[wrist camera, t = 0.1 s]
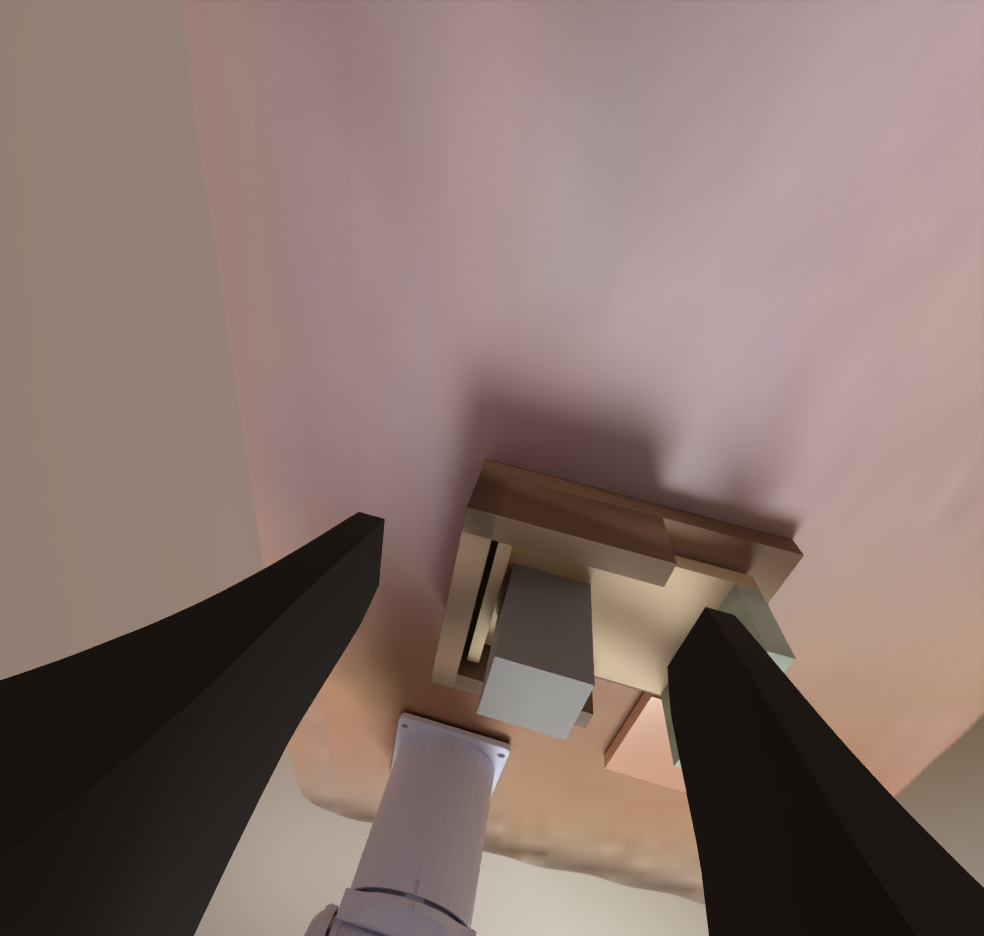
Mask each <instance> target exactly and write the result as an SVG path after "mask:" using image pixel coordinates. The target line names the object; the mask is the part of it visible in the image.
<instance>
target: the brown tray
mask: <svg viewBox="0 0 984 936" xmlns="http://www.w3.org/2000/svg"><path fill="white" fill-rule="evenodd" d="M498 542H501V543H505V544H509V545H512V546H516V547H520V548H523V549H527V550H530V551H534V552H538V553H541V554H545V555H549V556H552V557H556V558H559V559H563V560H567V561H570V562H574V563H578V564H581V565H585V566H588V567H592V568H596V569H599V570H603V571H607V572H610V573H614V574H618V575H621V576H625V577H628V578H632V579H636V580H639V581H643V582H647V583H650V584H654V585H657V586H661V587H664V586H665V584H666V583H667V581H668V579H669V577H670V575H671V574H672V572H673V570H674V568H675V566H676V565H677V563H676V560H675V556H674V555H676V556H680V557H683V558H687V559H691V560H694V561H698V562H702V563H706V564H709V565H713V566H717V567H720V568H724V569H728V570H731V571H735V572H739V573H742V574H746V575H750V576H753V578H754V580H755V581H756V583H757V585H758V587H759V589H760V591H761V593H762V595H763V597H764V599H765V601H766V603H767V604H768V602H769V601H770V600H771V598H772V597H773V596H774V594H775V593H776V592H777V590H778V589H779V588H780V586H781V585H782V584H783V582H784V581H785V580H786V578H787V577H788V576H789V574H790V573H791V572H792V570H793V569H794V568H795V566H796V565H797V564H798V562H799V561H800V560H801V558H802V557H803V556H804V555H803V553H802V552H801V551H800V549H799V548H798V547H797V545H796V544H795V542H794V541H793V540H789V539H785V538H781V537H778V536H774V535H770V534H766V533H762V532H759V531H755V530H751V529H747V528H744V527H740V526H736V525H732V524H728V523H725V522H721V521H717V520H713V519H710V518H706V517H702V516H698V515H695V514H691V513H687V512H683V511H679V510H676V509H672V508H668V507H664V506H661V505H657V504H653V503H649V502H645V501H642V500H638V499H634V498H630V497H627V496H623V495H619V494H615V493H611V492H608V491H604V490H600V489H596V488H593V487H589V486H585V485H581V484H577V483H574V482H570V481H566V480H562V479H559V478H555V477H551V476H547V475H543V474H540V473H536V472H532V471H528V470H525V469H521V468H517V467H513V466H509V465H506V464H502V463H498V462H494V461H491V460H487V459H486V462H485V464H484V467H483V469H482V472H481V474H480V476H479V479H478V481H477V484H476V486H475V489H474V491H473V493H472V496H471V498H470V501H469V503H468V506H467V509H466V514H465V518H464V523H463V528H462V533H461V538H460V542H459V547H458V552H457V557H456V562H455V566H454V571H453V576H452V581H451V585H450V590H449V595H448V600H447V605H446V609H445V614H444V619H443V624H442V628H441V633H440V638H439V643H438V648H437V652H436V657H435V662H434V667H433V672H432V676H431V681H430V682H432V683H435V684H439V685H442V686H445V687H449V688H452V689H456V690H459V691H462V692H466V693H469V694H472V695H476V696H479V697H480V696H481V691H482V686H483V682H484V677H485V672H486V668H487V663H488V658H489V653H490V649H491V646H490V645H487V644H484V647H483V650H482V653H481V657H480V660H479V663H476V662H473V661H469V660H467V658H468V654H469V650H470V647H471V643H472V639H473V635H474V631H475V628H476V624H477V620H478V616H479V613H480V609H481V605H482V602H483V598H484V594H485V590H486V587H487V583H488V579H489V575H490V572H491V568H492V564H493V560H494V557H495V553H496V549H497V546H498ZM594 677H596V678H599V679H602V680H606V681H609V682H613V683H616V684H620V685H623V686H627V687H630V688H634V689H637V690H640V691H644V692H647V693H651V694H654V695H658V696H661V695H659V694H656V693H652V692H649V691H646V690H642V689H639V688H635V687H632V686H628V685H625V684H621V683H618V682H614V681H611V680H608V679H604V678H601V677H597V676H594ZM592 715H593V699H592V691H591V693H590V695H589V697H588V699H587V701H586V703H585V704H584V706H583V708H582V710H581V712H580V714H579V716H578V718H577V720H576V721H575V723H574V725H577V726H580V727H583V728H586V726H587V724H588V722H589V721H590V719H591V717H592Z"/></svg>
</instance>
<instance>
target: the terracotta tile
mask: <svg viewBox="0 0 984 936" xmlns="http://www.w3.org/2000/svg"><path fill="white" fill-rule="evenodd" d="M604 763H605V769H609V770H612V771H615V772H619V773H622V774H625V775H629V776H632V777H635V778H639V779H642V780H645V781H649V782H652V783H655V784H658V785H662V786H665V787H668V788H672V789H675V790H678V791H682V792H685V793H686V788H685V783H684V779H683V774H682V769H681V768H678V767H674V765H673V759H672V754H671V748H670V743H669V737H668V732H667V726H666V721H665V716H664V710H663V705H662V699H661V696H658V695H654V694H651V693H647V692H644V693H643V695H642V696H641V698H640V700H639V701H638V703H637V704H636V706H635V708H634V709H633V711H632V712H631V714H630V715H629V717H628V719H627V720H626V722H625V723H624V725H623V726H622V728H621V730H620V731H619V733H618V734H617V736H616V737H615V739H614V741H613V742H612V744H611V745H610V747H609V749H608V750H607V752H606V753H605V755H604Z"/></svg>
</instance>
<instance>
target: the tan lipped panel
mask: <svg viewBox="0 0 984 936" xmlns="http://www.w3.org/2000/svg"><path fill="white" fill-rule="evenodd" d="M674 556H675V560H676V563H677V565H676V566H675V568H674V570H673V572H672V574H671V575H670V577H669V579H668V581H667V583H666V584H665V586H664V587H661V586H657V585H654V584H650V583H647V582H643V581H639V580H636V579H632V578H628V577H625V576H621V575H618V574H614V573H610V572H607V571H603V570H599V569H596V568H592V567H588V566H585V565H581V564H578V563H574V562H570V561H567V560H563V559H559V558H556V557H552V556H549V555H545V554H541V553H538V552H534V551H530V550H527V549H523V548H520V547H516V546H512V545H509V544H505V543H501V542H498V546H497V549H496V553H495V557H494V560H493V564H492V568H491V572H490V575H489V579H488V583H487V587H486V590H485V594H484V598H483V602H482V605H481V609H480V613H479V616H478V620H477V624H476V628H475V631H474V635H473V639H472V643H471V647H470V650H469V654H468V658H467V660H469V661H473V662H476V663H479V660H480V657H481V653H482V650H483V647H484V644H487V645H490V646H491V644H492V639H493V635H494V630H495V625H496V620H497V616H498V613H499V609H500V606H501V603H502V599H503V596H504V593H505V589H506V586H507V583H508V579H509V576H510V573H511V569H512V566H513V563H514V564H518V565H522V566H525V567H529V568H532V569H536V570H540V571H543V572H547V573H550V574H554V575H558V576H561V577H565V578H568V579H572V580H576V581H579V582H583V583H586V584H590V585H591V606H592V632H593V657H594V676H597V677H601V678H604V679H608V680H611V681H614V682H618V683H621V684H625V685H628V686H632V687H635V688H639V689H642V690H646V691H649V692H652V693H656V694H659V695H661V699H662V705H663V710H664V716H665V721H666V726H667V732H668V737H669V743H670V748H671V754H672V759H673V765H674V767H678V768H681V764H680V759H679V754H678V749H677V744H676V739H675V734H674V729H673V724H672V718H671V710H670V700H669V686H668V669H667V666H668V665H669V663H670V662H671V660H672V659H673V657H674V655H675V654H676V652H677V651H678V649H679V648H680V646H681V644H682V643H683V641H684V640H685V638H686V637H687V635H688V633H689V632H690V630H691V629H692V627H693V626H694V624H695V622H696V621H697V619H698V618H699V616H700V615H701V613H702V611H703V610H704V608H705V607H708V608H712V609H715V610H719V611H723V612H726V613H730V614H734V615H735V616H736V617H737V618H738V619H739V621H740V622H741V623H742V624H743V625H744V626H745V627H746V628H747V630H748V631H749V632H750V633H751V634H752V635H753V637H754V638H755V639H756V640H757V641H758V642H759V644H760V645H761V646H762V647H763V648H764V650H765V651H766V652H767V653H768V654H769V656H770V657H771V658H772V659H773V660H774V662H775V663H776V664H777V665H778V666H779V668H780V669H781V670H782V671H783V672H785V671H786V670H787V669H788V668H789V667H790V665H791V664H792V663H793V662H794V661H795V660H796V658H795V656H794V654H793V653H792V651H791V649H790V647H789V645H788V643H787V641H786V639H785V637H784V635H783V633H782V631H781V629H780V628H779V626H778V624H777V622H776V620H775V618H774V616H773V614H772V612H771V610H770V608H769V606H768V605H767V603H766V601H765V599H764V597H763V595H762V593H761V591H760V589H759V587H758V585H757V583H756V581H755V580H754V578H753V576H750V575H746V574H742V573H739V572H735V571H731V570H728V569H724V568H720V567H717V566H713V565H709V564H706V563H702V562H698V561H694V560H691V559H687V558H683V557H680V556H676V555H674Z"/></svg>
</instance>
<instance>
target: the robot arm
mask: <svg viewBox="0 0 984 936" xmlns="http://www.w3.org/2000/svg"><path fill="white" fill-rule="evenodd" d="M384 521H385V519H382V518H379V517H375V516H371V515H368V514H364V513H361V512H358V513H356V514H355V515H353V516H351V517H350V518H348V519H346V520H345V521H343V522H341V523H340V524H338V525H337V526H335V527H333V528H332V529H330V530H329V531H327V532H325V533H324V534H322V535H321V536H319V537H317V538H316V539H314V540H312V541H311V542H309V543H308V544H306V545H304V546H303V547H301V548H299V549H298V550H296V551H294V552H292V553H291V554H289V555H287V556H286V557H284V558H282V559H281V560H279V561H277V562H275V563H274V564H272V565H270V566H269V567H267V568H265V569H263V570H261V571H259V572H258V573H256V574H254V575H252V576H250V577H248V578H247V579H244V580H243V581H241V582H239V583H237V584H236V585H233V586H232V587H230V588H228V589H226V590H224V591H222V592H220V593H218V594H216V595H214V596H212V597H210V598H208V599H206V600H204V601H202V602H200V603H197V604H195V605H193V606H191V607H189V608H187V609H185V610H182V611H180V612H178V613H176V614H173V615H171V616H169V617H167V618H164V619H163V620H160V621H158V622H155V623H153V624H151V625H148V626H146V627H143V628H141V629H139V630H136V631H133V632H131V633H128V634H126V635H123V636H120V637H118V638H116V639H113V640H110V641H108V642H105V643H103V644H100V645H98V646H95V647H92V648H90V649H88V650H85V651H83V652H80V653H77V654H75V655H72V656H69V657H66V658H64V659H61V660H58V661H55V662H53V663H50V664H47V665H44V666H41V667H38V668H35V669H33V670H30V671H27V672H24V673H21V674H18V675H15V676H12V677H9V678H6V679H3V680H0V936H194V934H195V932H196V930H197V928H198V926H199V923H200V921H201V919H202V917H203V914H204V913H205V911H206V909H207V906H208V904H209V902H210V900H211V898H212V896H213V894H214V892H215V890H216V888H217V885H218V883H219V881H220V879H221V877H222V875H223V873H224V871H225V869H226V866H227V864H228V862H229V860H230V858H231V856H232V854H233V852H234V850H235V848H236V846H237V844H238V842H239V840H240V838H241V835H242V834H243V832H244V829H245V827H246V825H247V823H248V821H249V819H250V817H251V815H252V813H253V811H254V809H255V807H256V805H257V803H258V801H259V799H260V797H261V795H262V793H263V791H264V789H265V787H266V785H267V783H268V781H269V779H270V777H271V775H272V774H273V771H274V770H275V768H276V766H277V764H278V762H279V760H280V758H281V756H282V754H283V752H284V750H285V748H286V746H287V744H288V742H289V741H290V739H291V737H292V735H293V734H294V732H295V730H296V728H297V727H298V725H299V723H300V721H301V720H302V718H303V716H304V715H305V713H306V712H307V710H308V708H309V707H310V705H311V704H312V702H313V700H314V699H315V697H316V696H317V694H318V692H319V691H320V689H321V687H322V686H323V684H324V683H325V681H326V679H327V678H328V676H329V675H330V673H331V671H332V670H333V668H334V667H335V665H336V663H337V662H338V660H339V659H340V657H341V655H342V654H343V652H344V650H345V649H346V647H347V646H348V644H349V642H350V641H351V639H352V637H353V636H354V634H355V632H356V631H357V629H358V628H359V626H360V624H361V622H362V620H363V618H364V616H365V614H366V612H367V609H368V607H369V605H370V603H371V601H372V599H373V597H374V594H375V592H376V590H377V588H378V586H379V577H380V566H381V554H382V543H383V532H384ZM667 669H668V686H669V700H670V710H671V718H672V724H673V729H674V734H675V739H676V744H677V749H678V754H679V759H680V764H681V769H682V774H683V779H684V783H685V788H686V793H687V798H688V803H689V808H690V813H691V817H692V822H693V827H694V832H695V837H696V842H697V848H698V854H699V860H700V866H701V872H702V880H703V888H704V897H705V905H706V914H707V922H708V931H709V936H984V888H983V887H982V886H981V885H980V884H979V883H978V882H977V881H976V880H975V879H974V878H973V877H972V876H971V875H970V874H969V873H968V872H967V871H966V870H965V869H964V868H963V867H962V866H961V865H960V864H959V863H958V862H957V861H956V860H955V859H954V858H953V857H952V856H951V855H950V854H949V853H947V851H946V850H945V849H944V848H943V847H942V846H941V845H940V844H939V843H938V842H937V841H936V840H935V839H934V838H933V837H932V836H931V835H930V834H928V832H927V831H926V830H925V829H924V828H923V827H922V826H921V825H920V824H918V822H917V821H916V820H915V819H914V818H913V817H912V816H911V815H910V814H909V813H908V812H907V811H906V810H905V809H904V808H903V807H902V806H901V805H900V804H899V803H898V802H897V801H896V800H895V798H894V797H893V796H892V795H891V794H890V793H889V792H888V791H887V790H886V789H885V788H884V787H883V786H882V785H881V784H880V782H879V781H878V780H877V779H876V778H875V777H874V776H873V775H872V774H871V773H870V771H869V770H868V769H867V768H866V767H865V766H864V765H863V764H862V763H861V762H860V761H859V759H858V758H857V757H856V756H855V755H854V754H853V753H852V752H851V751H850V750H849V748H848V747H847V746H846V745H845V744H844V743H843V742H842V741H841V739H840V738H839V737H838V736H837V735H836V734H835V733H834V731H833V730H832V729H831V728H830V727H829V726H828V725H827V723H826V722H825V721H824V720H823V719H822V718H821V716H820V715H819V714H818V713H817V712H816V711H815V709H814V708H813V707H812V706H811V705H810V704H809V702H808V701H807V700H806V699H805V698H804V696H803V695H802V694H801V693H800V692H799V690H798V689H797V688H796V687H795V686H794V684H793V683H792V682H791V681H790V680H789V679H788V677H787V676H786V675H785V674H784V672H783V671H782V670H781V669H780V668H779V666H778V665H777V664H776V663H775V662H774V660H773V659H772V658H771V657H770V656H769V654H768V653H767V652H766V651H765V650H764V648H763V647H762V646H761V645H760V644H759V642H758V641H757V640H756V639H755V638H754V637H753V635H752V634H751V633H750V632H749V631H748V630H747V628H746V627H745V626H744V625H743V624H742V623H741V622H740V621H739V619H738V618H737V617H736V616H735V615H734V614H730V613H726V612H723V611H719V610H715V609H712V608H708V607H705V608H704V610H703V611H702V613H701V615H700V616H699V618H698V619H697V621H696V622H695V624H694V626H693V627H692V629H691V630H690V632H689V633H688V635H687V637H686V638H685V640H684V641H683V643H682V644H681V646H680V648H679V649H678V651H677V652H676V654H675V655H674V657H673V659H672V660H671V662H670V663H669V665H668V666H667ZM509 753H510V746H509V744H507V743H505V742H502V741H499V740H495V739H492V738H489V737H485V736H482V735H479V734H475V733H472V732H469V731H465V730H462V729H459V728H456V727H452V726H449V725H446V724H442V723H439V722H436V721H432V720H429V719H426V718H422V717H419V716H416V715H413V714H409V713H402V714H401V715H400V718H399V722H398V728H397V734H396V740H395V747H394V753H393V759H392V765H391V772H390V777H389V779H388V782H387V785H386V788H385V791H384V794H383V797H382V799H381V802H380V805H379V808H378V811H377V814H376V817H375V819H374V822H373V825H372V828H371V831H370V834H369V837H368V839H367V842H366V845H365V848H364V851H363V854H362V857H361V859H360V862H359V865H358V868H357V871H356V874H355V877H354V880H353V883H352V885H351V888H346V890H345V893H344V896H343V898H342V901H341V904H340V907H339V910H338V906H337V905H334V904H329V905H327V906H326V907H325V909H324V910H322V911H321V912H320V913H318V914H317V915H316V916H315V917H314V918H313V920H312V921H311V923H310V925H309V927H308V929H307V931H306V933H305V935H304V936H476V931H475V930H473V929H470V928H471V921H472V915H473V908H474V902H475V896H476V889H477V883H478V876H479V870H480V864H481V857H482V851H483V844H484V838H485V831H486V825H487V818H488V812H489V806H490V799H491V796H492V794H493V792H494V789H495V787H496V784H497V782H498V780H499V777H500V775H501V773H502V770H503V768H504V765H505V763H506V761H507V758H508V756H509Z"/></svg>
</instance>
